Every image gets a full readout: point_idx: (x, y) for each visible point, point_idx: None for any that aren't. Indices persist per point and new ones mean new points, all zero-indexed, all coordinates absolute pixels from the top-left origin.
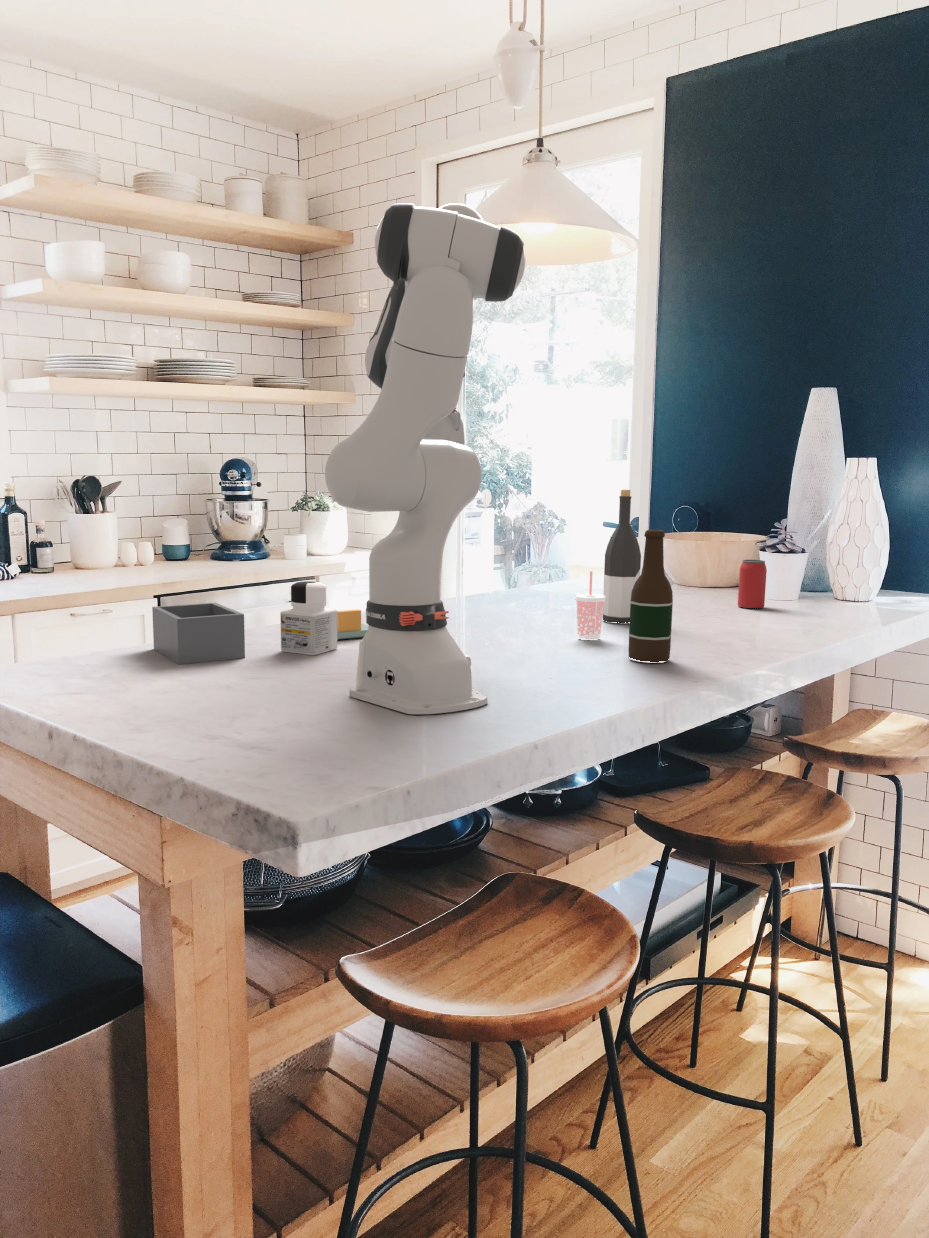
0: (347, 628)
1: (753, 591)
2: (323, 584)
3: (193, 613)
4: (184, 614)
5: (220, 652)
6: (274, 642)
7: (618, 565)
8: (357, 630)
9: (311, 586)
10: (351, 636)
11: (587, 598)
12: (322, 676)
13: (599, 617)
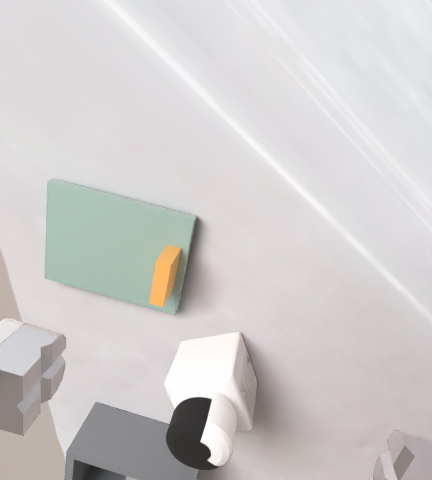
0: (175, 275)
1: None
2: (218, 436)
3: (78, 466)
4: (77, 474)
5: None
6: (134, 353)
7: None
8: (182, 257)
9: (225, 461)
10: (186, 266)
11: None
12: (372, 450)
13: None
